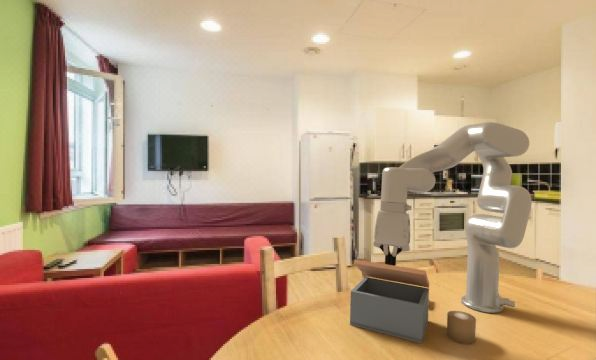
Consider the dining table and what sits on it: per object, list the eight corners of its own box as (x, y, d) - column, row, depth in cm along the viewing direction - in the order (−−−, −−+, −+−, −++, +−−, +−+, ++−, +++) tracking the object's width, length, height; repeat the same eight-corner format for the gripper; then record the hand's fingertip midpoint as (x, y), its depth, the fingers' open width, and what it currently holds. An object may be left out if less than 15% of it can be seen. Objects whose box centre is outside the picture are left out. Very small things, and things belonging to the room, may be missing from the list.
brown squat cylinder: (474, 335, 87) (475, 314, 87) (475, 347, 81) (476, 324, 81) (447, 328, 90) (448, 308, 90) (446, 340, 84) (446, 318, 84)
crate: (428, 320, 95) (429, 288, 95) (421, 343, 82) (423, 306, 82) (364, 306, 105) (365, 276, 105) (349, 324, 92) (350, 291, 91)
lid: (429, 287, 95) (429, 283, 96) (424, 274, 84) (425, 270, 84) (365, 276, 105) (366, 272, 105) (353, 263, 93) (354, 259, 94)
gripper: (421, 209, 94) (417, 269, 94) (372, 205, 101) (369, 261, 101) (417, 211, 87) (414, 276, 87) (365, 206, 94) (362, 266, 94)
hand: (390, 267), depth 94 cm, fingers closed
